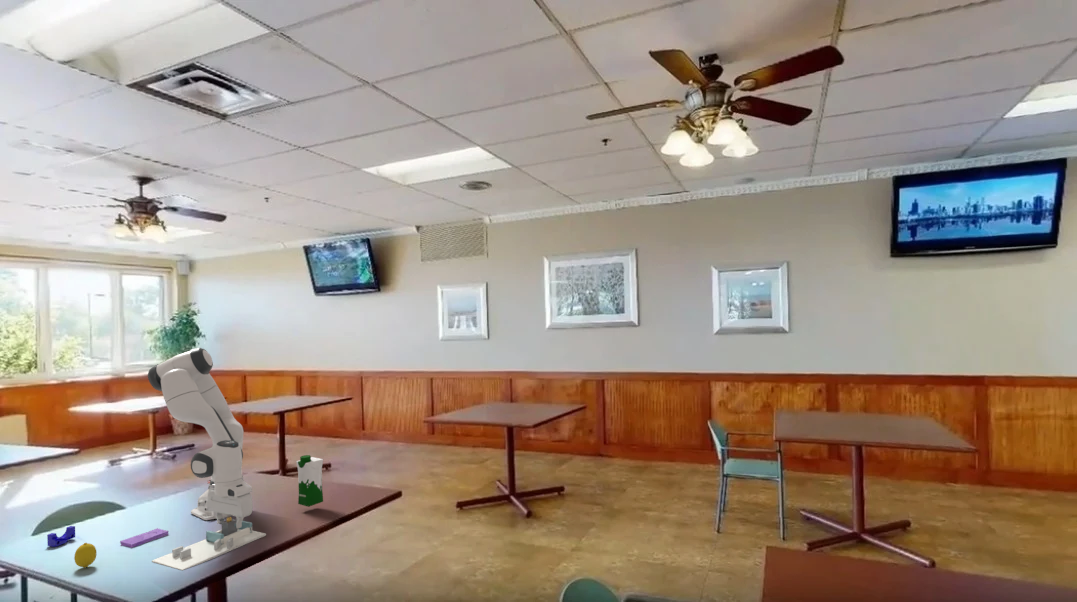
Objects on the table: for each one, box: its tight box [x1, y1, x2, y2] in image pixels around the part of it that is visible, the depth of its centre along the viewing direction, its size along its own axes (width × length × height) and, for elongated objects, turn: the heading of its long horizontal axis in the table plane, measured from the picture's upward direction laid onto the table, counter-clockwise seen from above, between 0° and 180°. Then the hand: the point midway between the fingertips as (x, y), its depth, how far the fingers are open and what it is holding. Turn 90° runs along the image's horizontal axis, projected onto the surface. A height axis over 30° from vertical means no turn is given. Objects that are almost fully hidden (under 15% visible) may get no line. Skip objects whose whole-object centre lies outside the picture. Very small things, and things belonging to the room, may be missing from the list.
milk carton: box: [295, 454, 324, 508], centre depth 236 cm, size 9×9×20 cm
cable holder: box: [46, 525, 76, 548], centre depth 202 cm, size 8×4×4 cm, turn 167°
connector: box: [221, 516, 237, 537], centre depth 201 cm, size 4×4×6 cm
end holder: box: [205, 520, 253, 545], centre depth 201 cm, size 8×12×3 cm, turn 154°
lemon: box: [73, 542, 97, 569], centre depth 180 cm, size 6×6×8 cm
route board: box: [151, 530, 267, 571], centre depth 193 cm, size 16×30×3 cm, turn 154°
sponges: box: [119, 527, 169, 548], centre depth 202 cm, size 7×13×2 cm, turn 153°
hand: (229, 525), depth 201 cm, fingers open, 8 cm apart
